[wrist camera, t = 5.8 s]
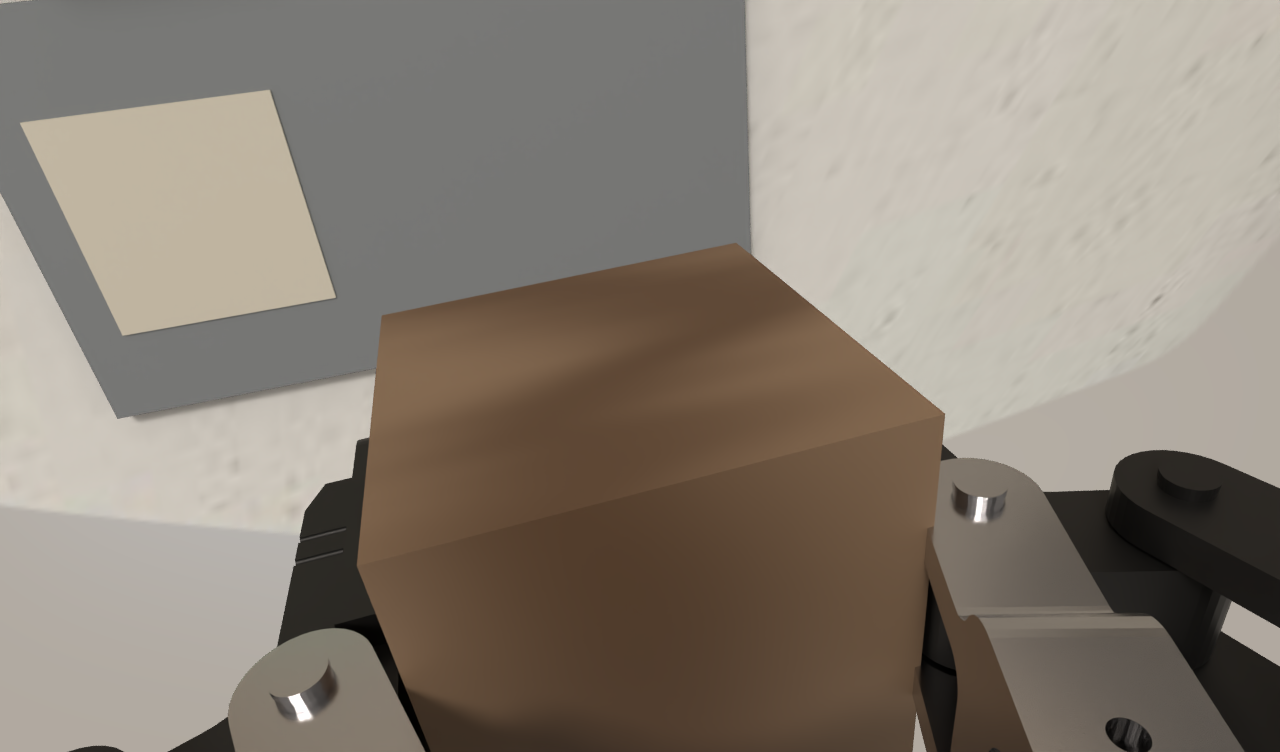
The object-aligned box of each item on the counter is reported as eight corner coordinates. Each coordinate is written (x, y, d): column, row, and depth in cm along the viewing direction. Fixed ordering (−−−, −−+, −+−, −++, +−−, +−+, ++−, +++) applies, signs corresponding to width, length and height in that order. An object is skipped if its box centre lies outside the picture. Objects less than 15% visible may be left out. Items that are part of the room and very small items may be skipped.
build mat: (735, -76, 23) (743, -77, 22) (746, 289, 29) (752, 295, 28) (-79, 12, 19) (-95, 14, 19) (123, 409, 25) (116, 420, 25)
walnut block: (736, 242, 11) (945, 414, 7) (751, 513, 13) (911, 767, 9) (381, 315, 10) (356, 565, 6) (466, 590, 12) (494, 909, 8)
